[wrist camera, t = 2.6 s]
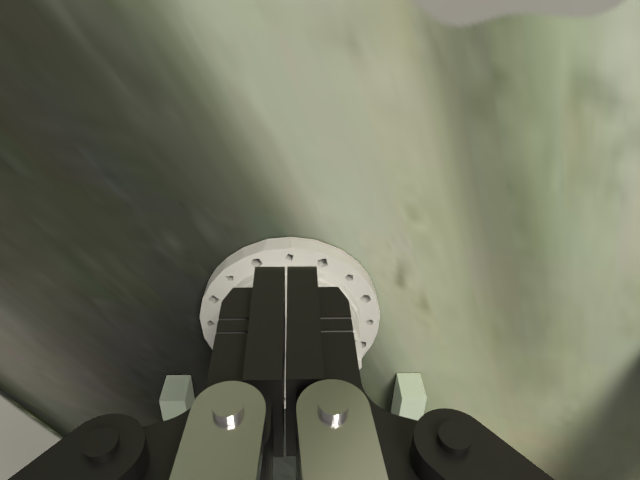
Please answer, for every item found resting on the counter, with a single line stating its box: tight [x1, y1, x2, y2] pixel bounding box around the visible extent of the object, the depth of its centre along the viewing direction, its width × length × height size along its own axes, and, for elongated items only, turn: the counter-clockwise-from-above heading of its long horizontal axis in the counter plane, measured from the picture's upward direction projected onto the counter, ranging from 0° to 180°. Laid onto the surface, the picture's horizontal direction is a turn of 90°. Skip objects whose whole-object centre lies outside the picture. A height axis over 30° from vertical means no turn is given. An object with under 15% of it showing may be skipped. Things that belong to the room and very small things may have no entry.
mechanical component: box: [200, 237, 380, 409], centre depth 27 cm, size 10×4×10 cm
